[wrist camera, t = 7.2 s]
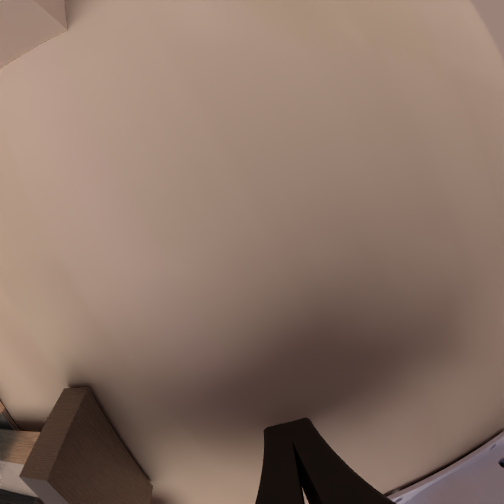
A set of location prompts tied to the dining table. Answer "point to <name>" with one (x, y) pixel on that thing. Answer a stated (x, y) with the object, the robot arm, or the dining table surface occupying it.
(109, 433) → the bar with square endplate
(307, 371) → the dining table surface
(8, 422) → the gauge housing
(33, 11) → the white cube
